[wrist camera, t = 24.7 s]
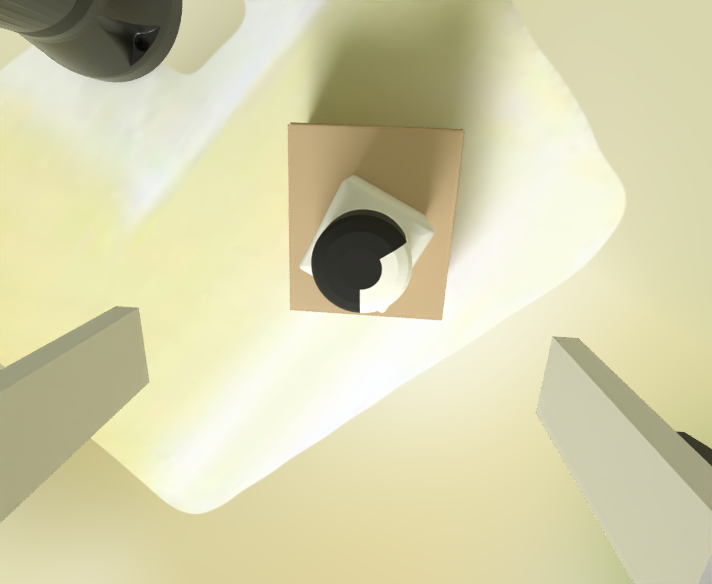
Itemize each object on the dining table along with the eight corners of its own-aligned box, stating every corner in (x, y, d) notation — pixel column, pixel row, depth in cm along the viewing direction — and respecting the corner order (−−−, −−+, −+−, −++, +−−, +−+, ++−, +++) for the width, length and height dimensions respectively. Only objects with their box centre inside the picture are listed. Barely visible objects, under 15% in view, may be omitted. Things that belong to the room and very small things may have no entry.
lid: (290, 125, 33) (287, 124, 32) (462, 132, 32) (464, 131, 31) (292, 306, 38) (290, 309, 37) (440, 316, 37) (441, 320, 37)
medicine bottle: (314, 247, 35) (279, 290, 24) (352, 173, 33) (334, 182, 22) (384, 285, 36) (383, 346, 25) (427, 216, 34) (447, 246, 22)
